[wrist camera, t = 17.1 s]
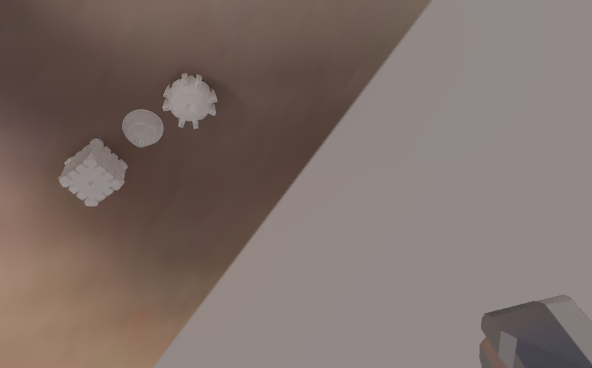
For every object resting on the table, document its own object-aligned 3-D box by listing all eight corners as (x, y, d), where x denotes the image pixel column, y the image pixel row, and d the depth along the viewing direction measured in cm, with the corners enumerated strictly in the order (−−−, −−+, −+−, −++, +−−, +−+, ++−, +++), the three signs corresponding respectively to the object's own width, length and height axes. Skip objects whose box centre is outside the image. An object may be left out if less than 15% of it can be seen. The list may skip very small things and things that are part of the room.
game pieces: (99, 186, 40) (92, 210, 37) (65, 157, 38) (55, 180, 35) (224, 93, 37) (226, 112, 35) (193, 57, 36) (192, 74, 33)
